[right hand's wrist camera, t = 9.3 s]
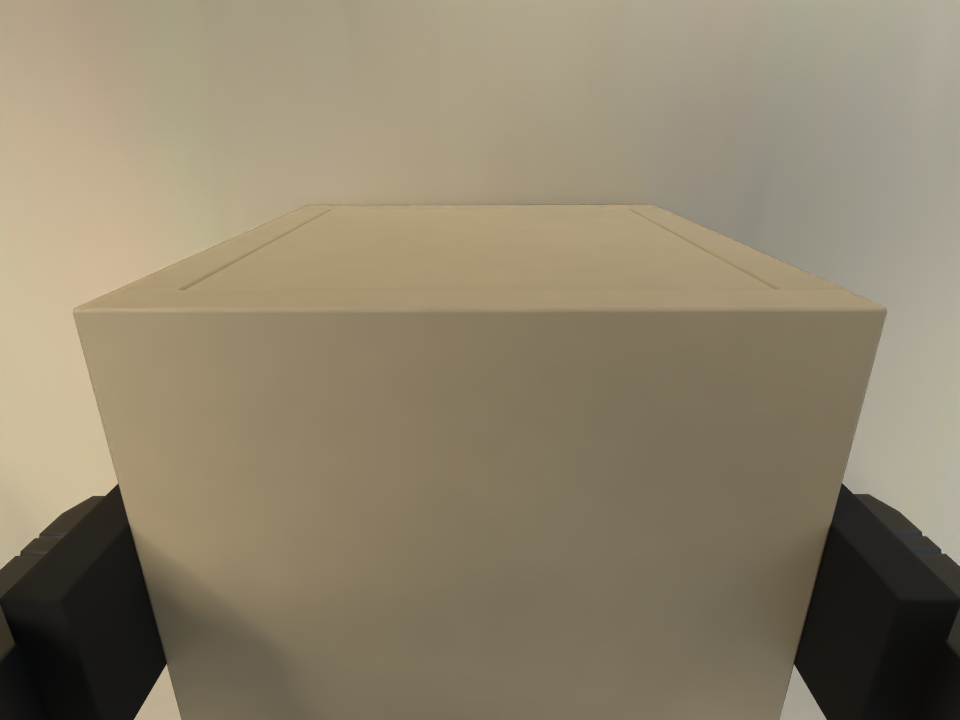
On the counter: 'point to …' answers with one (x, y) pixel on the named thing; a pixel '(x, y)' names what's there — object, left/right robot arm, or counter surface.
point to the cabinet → (480, 462)
